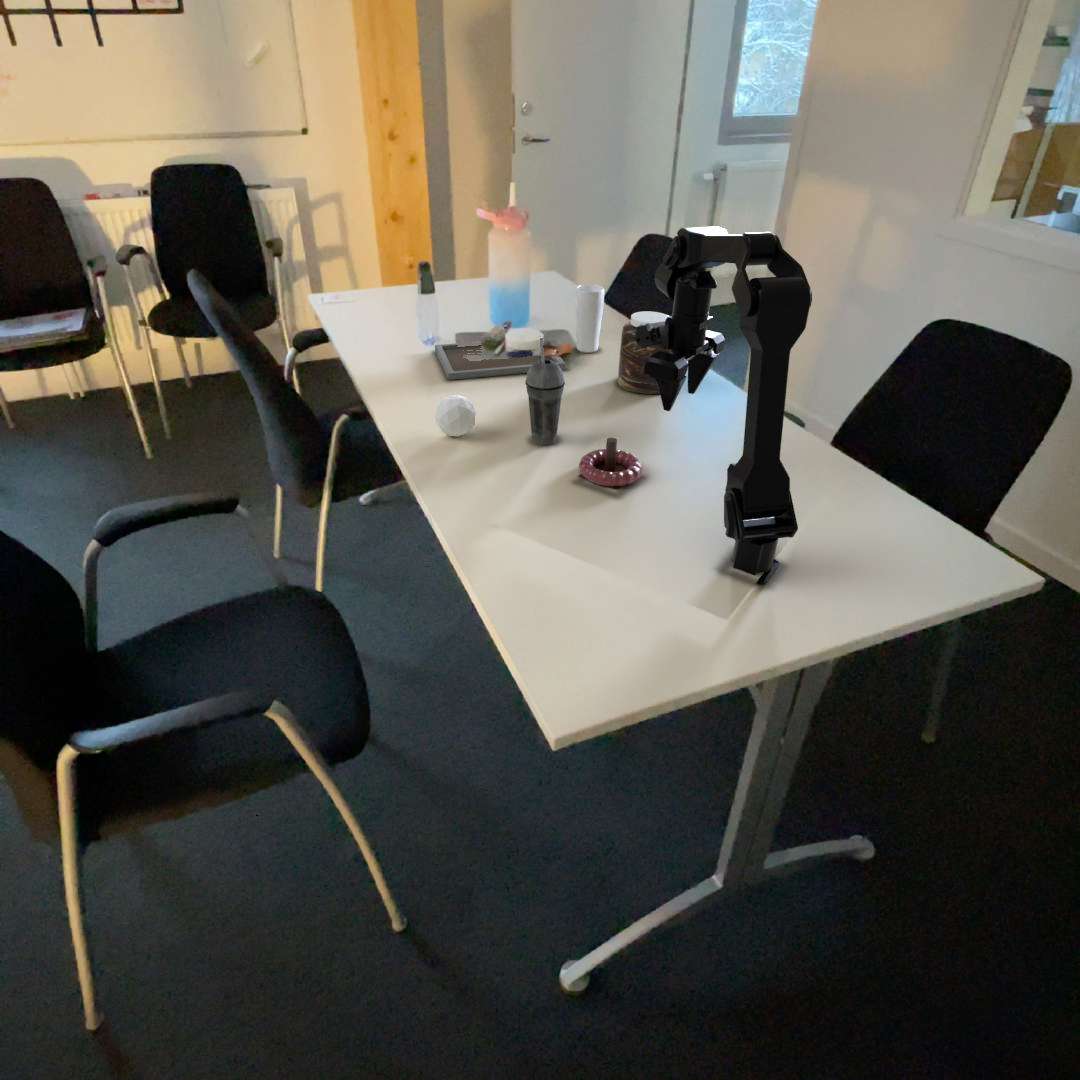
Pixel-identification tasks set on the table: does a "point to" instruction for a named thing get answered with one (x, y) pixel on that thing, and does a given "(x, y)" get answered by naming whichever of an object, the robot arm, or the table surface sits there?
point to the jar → (637, 355)
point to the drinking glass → (588, 316)
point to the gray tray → (483, 363)
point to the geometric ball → (455, 415)
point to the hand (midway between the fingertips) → (679, 401)
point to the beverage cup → (544, 398)
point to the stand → (610, 461)
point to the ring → (610, 477)
